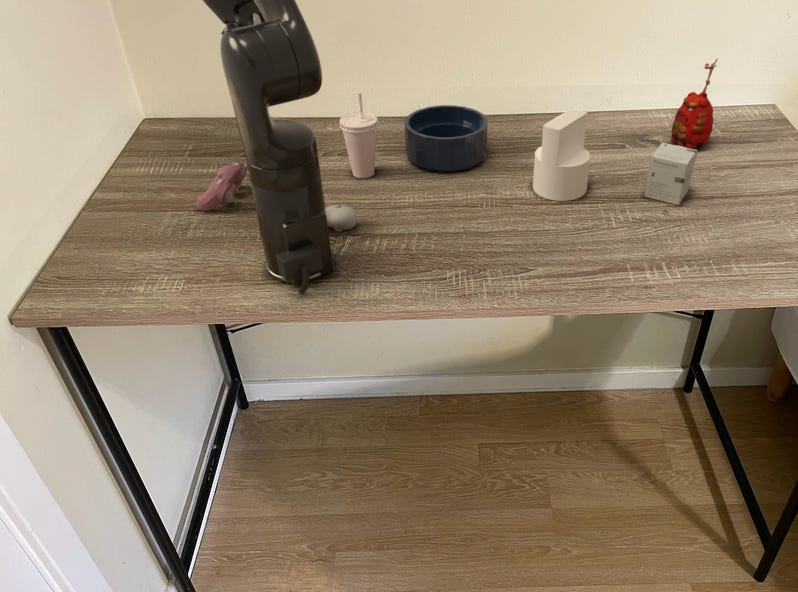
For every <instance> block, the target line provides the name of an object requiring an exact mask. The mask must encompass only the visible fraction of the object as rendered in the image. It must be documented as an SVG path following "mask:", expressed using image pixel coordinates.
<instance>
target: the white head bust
mask: <svg viewBox="0 0 798 592" xmlns="http://www.w3.org/2000/svg"><path fill="white" fill-rule="evenodd" d="M325 210H326V216H327V224H328V228H333V230H334V231H336V232H339V233H341V232H343V230H346V231H347V230H351V229H353V228H354V227H355V226H356V225H357V223H358V215H357V214H358V213H357V212H356V210H355V209H354V208H353V207H351V206H347V205H342V204H333V205H329V206H327V207H325Z"/></svg>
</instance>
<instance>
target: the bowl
mask: <svg viewBox="0 0 798 592" xmlns="http://www.w3.org/2000/svg"><path fill="white" fill-rule="evenodd" d="M404 134H405V135H404V136H405V137H404V138H405V139H404V140H405V155H406V157H407V158H408V160H409V161H410V162H411V163H413V164H414V165H416V166H418V167H420V168H423V169H425V170H428V171H433V172H440V173H452V172H453V173H455V172H461V171H465V170H468V169H470V168H472V167H474V166H477V165H478V164H479V163H481V162H483V161H484V160H485V159H486V157H487V156H488V117H486V115H485V114H484V113H482V112H481V111H479V110H477V109H474V108H470V107H468V106H464V105H463V106H462V105H454V104H453V105H452V104H443V105H442V104H441V105H433V106H426V107H423V108H420V109H417V110H415V111H413V112H411V113H410V114H408V116H406V117H405V119H404Z"/></svg>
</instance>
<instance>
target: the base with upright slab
mask: <svg viewBox="0 0 798 592" xmlns="http://www.w3.org/2000/svg"><path fill="white" fill-rule="evenodd" d="M587 122H588V112H587V111H585V110H582V109H580V108H579V109H578V108H573V107H570V108H569V109H568V110H565V111H564V112H563V113H561V114H559V115H557V116H556V117H554V118H552V119H550V120H549V121H547V122H546V123H544V124H543V125H542V138H541V146H539V147H538V148H536V149H535V152H534V161H533V175H532V176H533V177H532V189H533V191H534V193H535V194H536V195H538V196H539V197H541V198H544V199H546V200H550V201H557V202H567V201H573V200H578V199H580V198H581V197H583V196H584V195H585V194H586V193H587V189H588V181H589V171H590V162H591V153H590V152H589V150H588V149H587V148H585V139H586V138H585V137H586V131H587V130H586V129H587Z"/></svg>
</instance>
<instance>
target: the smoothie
mask: <svg viewBox="0 0 798 592" xmlns="http://www.w3.org/2000/svg"><path fill="white" fill-rule="evenodd" d="M357 97H358V98H357V100H358V111H356V112H350V113H346V114H344V115H342V116H341V117H340V119H339V128H340V129H341V130H342V133H343V134H342V135H343V138H344V142H345V147H346V151H347V154H348V155H347V156H348V158H349V164H350V167H351V172H352V175H353V176H354V177H355V178H357V179H367V178H368V179H369V178H371V177H373V176H374V175H375V166H376V165H375V164H376V143H377V127H378V126H379V120H378V117H377V115H375V114H374V113H371V112H368V111H367V112H365V111H364V110H363V109H364V108H363V99H362V92H357Z"/></svg>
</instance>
